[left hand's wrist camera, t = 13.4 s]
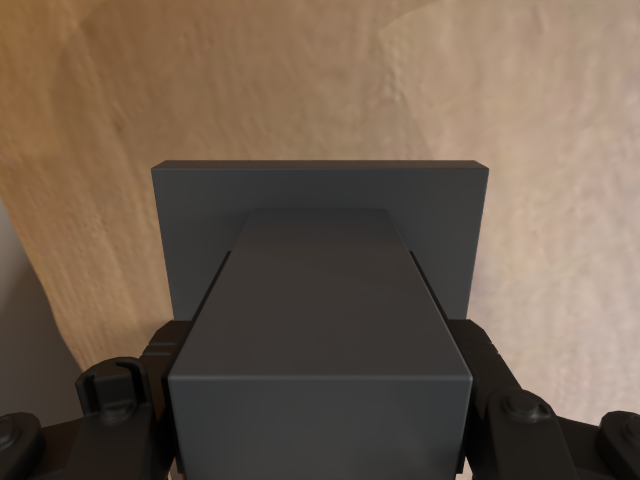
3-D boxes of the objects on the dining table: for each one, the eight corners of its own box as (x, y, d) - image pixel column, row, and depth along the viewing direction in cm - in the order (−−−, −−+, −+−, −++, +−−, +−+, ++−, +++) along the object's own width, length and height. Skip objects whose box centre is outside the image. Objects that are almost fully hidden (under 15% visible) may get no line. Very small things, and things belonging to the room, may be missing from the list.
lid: (181, 151, 18) (-88, 295, 6) (459, 151, 18) (727, 295, 6) (212, 403, 23) (102, 742, 11) (427, 403, 23) (538, 742, 11)
